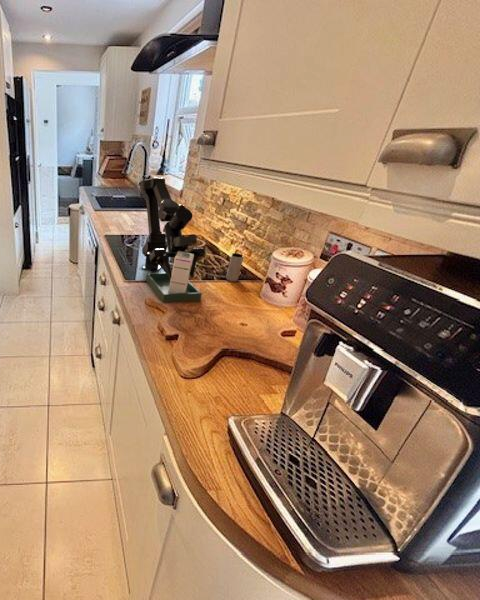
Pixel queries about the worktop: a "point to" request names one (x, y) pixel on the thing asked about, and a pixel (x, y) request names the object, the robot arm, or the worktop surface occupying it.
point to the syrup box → (180, 272)
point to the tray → (161, 287)
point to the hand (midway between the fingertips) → (181, 277)
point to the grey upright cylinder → (234, 267)
